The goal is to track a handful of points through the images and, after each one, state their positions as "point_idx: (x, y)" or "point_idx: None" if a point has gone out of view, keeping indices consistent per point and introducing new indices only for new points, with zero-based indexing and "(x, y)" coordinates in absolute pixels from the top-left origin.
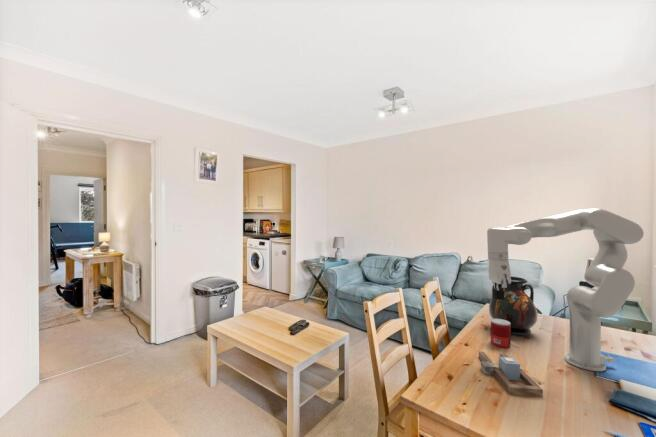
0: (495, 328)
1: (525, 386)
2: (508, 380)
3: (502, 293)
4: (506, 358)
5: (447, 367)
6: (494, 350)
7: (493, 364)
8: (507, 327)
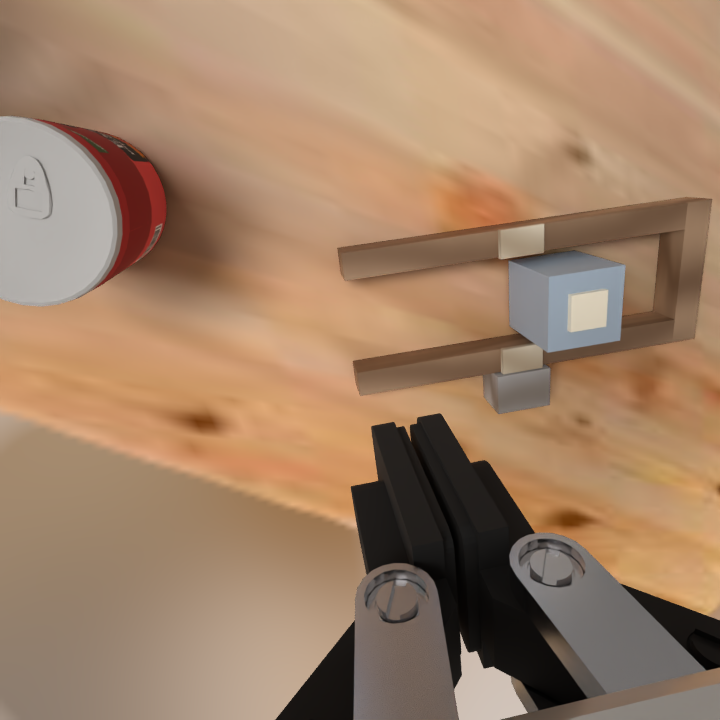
0: (117, 272)
1: (687, 269)
2: (645, 328)
3: (514, 514)
4: (580, 322)
5: None
6: (233, 273)
7: (517, 359)
8: (112, 173)
